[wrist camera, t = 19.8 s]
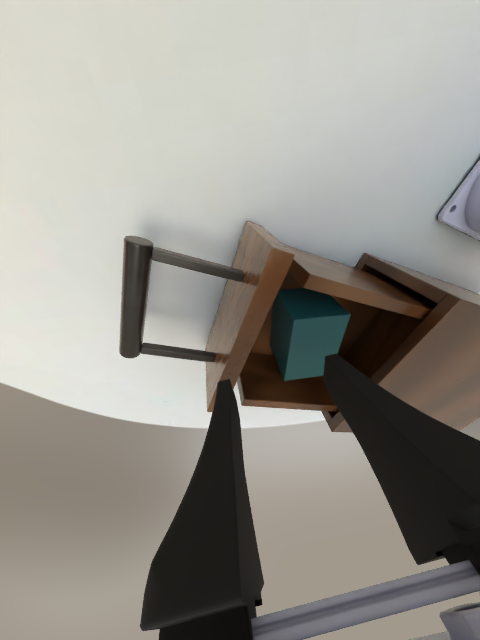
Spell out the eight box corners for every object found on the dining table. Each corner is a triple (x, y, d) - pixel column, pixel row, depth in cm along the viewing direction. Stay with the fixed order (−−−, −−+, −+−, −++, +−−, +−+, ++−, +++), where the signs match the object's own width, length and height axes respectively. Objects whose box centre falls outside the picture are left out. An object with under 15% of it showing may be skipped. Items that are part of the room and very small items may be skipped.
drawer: (132, 339, 19) (104, 407, 14) (144, 185, 13) (102, 193, 7) (330, 367, 26) (366, 420, 20) (401, 274, 20) (480, 313, 14)
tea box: (274, 289, 17) (293, 320, 14) (320, 285, 18) (351, 314, 14) (269, 345, 21) (283, 381, 17) (308, 340, 21) (330, 375, 17)
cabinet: (295, 361, 26) (331, 432, 18) (364, 252, 19) (461, 298, 12) (394, 375, 30) (452, 435, 23) (476, 293, 24) (592, 343, 17)
